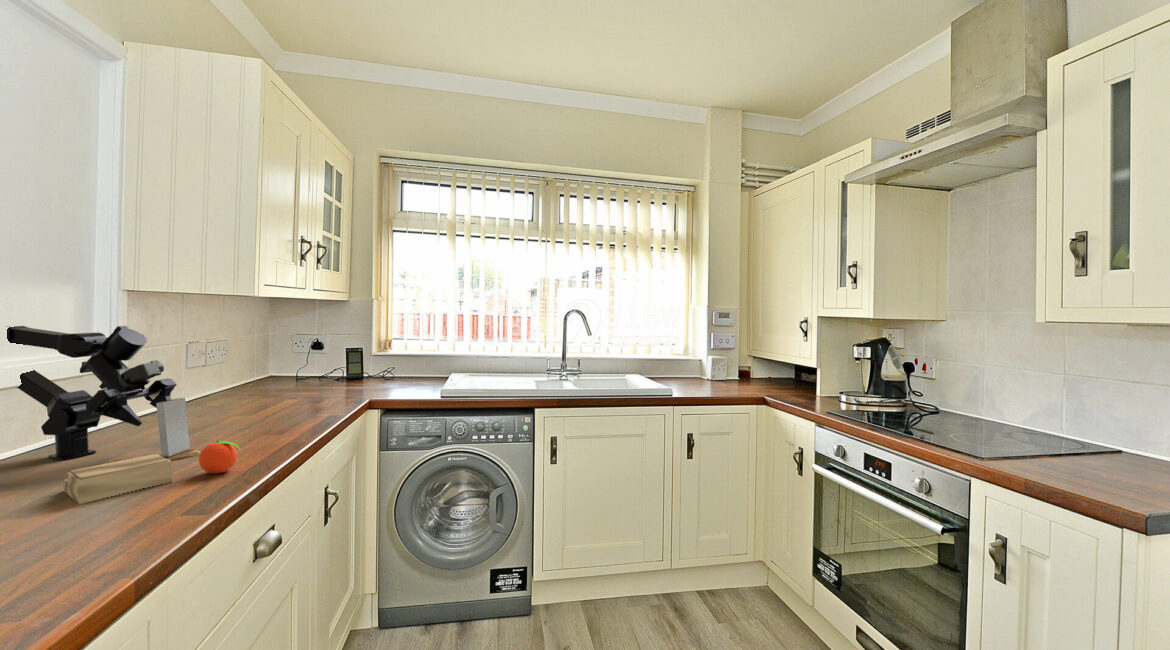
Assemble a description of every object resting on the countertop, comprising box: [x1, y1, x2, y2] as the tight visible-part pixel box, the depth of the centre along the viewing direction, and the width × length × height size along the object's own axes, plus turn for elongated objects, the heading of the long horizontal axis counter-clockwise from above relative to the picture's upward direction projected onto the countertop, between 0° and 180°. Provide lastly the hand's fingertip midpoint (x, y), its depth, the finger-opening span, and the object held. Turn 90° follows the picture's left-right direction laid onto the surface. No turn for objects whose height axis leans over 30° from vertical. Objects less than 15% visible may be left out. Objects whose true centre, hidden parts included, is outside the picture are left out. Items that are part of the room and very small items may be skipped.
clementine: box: [198, 440, 242, 475], centre depth 112 cm, size 8×7×7 cm
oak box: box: [63, 453, 173, 505], centre depth 104 cm, size 12×14×5 cm
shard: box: [160, 446, 201, 462], centre depth 123 cm, size 11×8×2 cm
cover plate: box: [156, 397, 191, 457], centre depth 123 cm, size 2×6×13 cm, turn 177°
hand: (157, 420), depth 123 cm, fingers open, 9 cm apart
